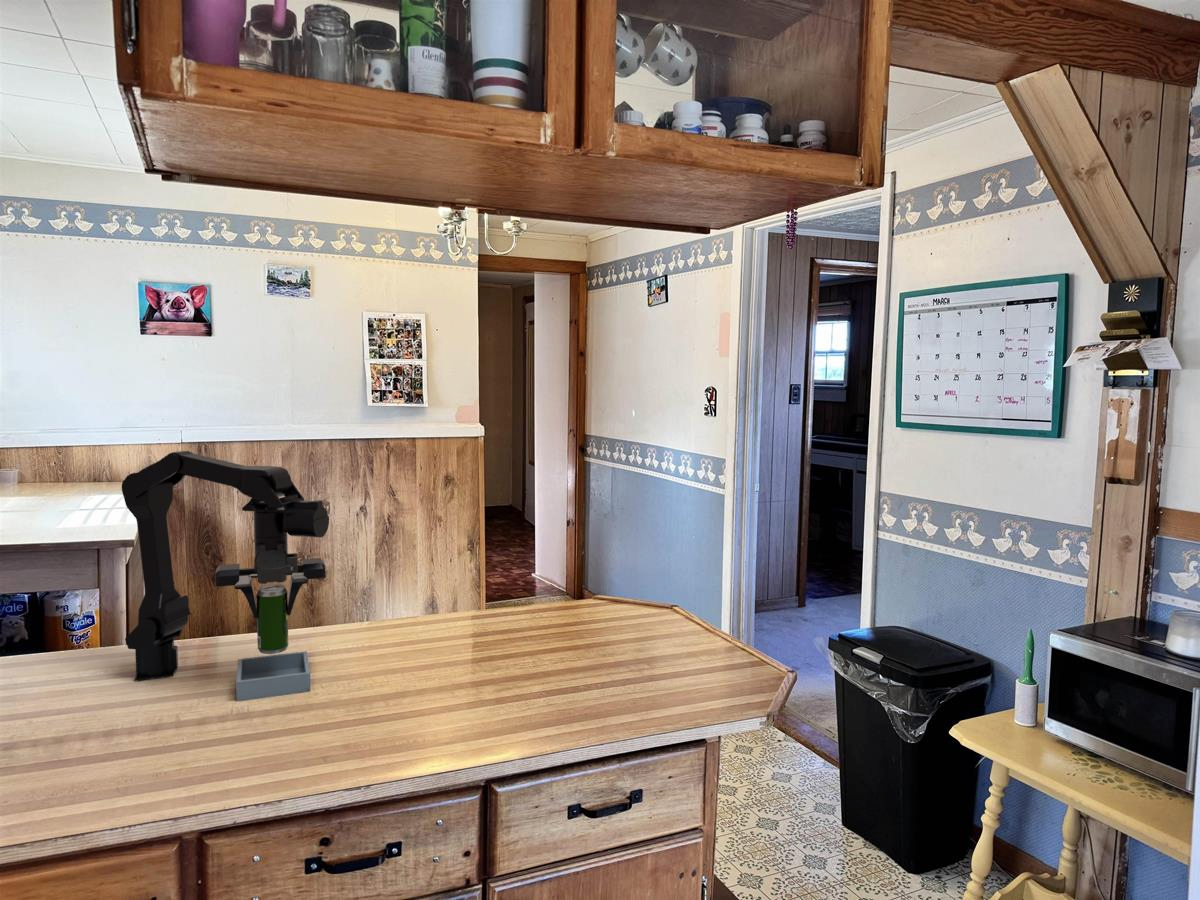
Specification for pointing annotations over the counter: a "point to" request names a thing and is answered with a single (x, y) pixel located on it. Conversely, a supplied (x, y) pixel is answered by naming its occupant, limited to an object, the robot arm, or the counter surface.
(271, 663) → the box
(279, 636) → the beer can
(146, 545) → the robot arm
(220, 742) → the counter surface
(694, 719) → the counter surface
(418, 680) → the counter surface
